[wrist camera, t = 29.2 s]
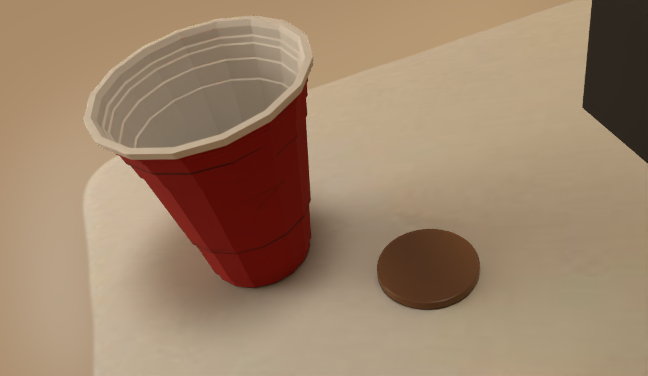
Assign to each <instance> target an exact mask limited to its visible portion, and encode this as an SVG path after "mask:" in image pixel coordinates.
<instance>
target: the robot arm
mask: <svg viewBox="0 0 648 376" xmlns="http://www.w3.org/2000/svg"><path fill="white" fill-rule="evenodd" d="M582 108H584V109H585V110H586V111H587V112H588V113H589V114H591V115H592V116H593V117H594V118H595V119H596V120H598V121H599V122H600V123H601V124H602V125H603V126H605V127H606V128H607V129H608V130H609V131H610V132H612V133H613V134H614V135H615V136H616V137H617V138H619V139H620V140H621V141H622V142H623V143H624V144H626V145H627V146H628V147H629V148H630V149H631V150H633V151H634V152H635V153H636V154H637V155H638V156H640V157H641V158H642V159H643V160H644V161H645V162H647V163H648V0H592V8H591V19H590V30H589V41H588V52H587V63H586V74H585V85H584V96H583V107H582Z"/></svg>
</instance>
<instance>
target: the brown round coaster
mask: <svg viewBox="0 0 648 376" xmlns="http://www.w3.org/2000/svg"><path fill="white" fill-rule="evenodd" d="M377 271H378V277H379V281H380V284H381V286H382V288H383V289H384V291H385V292H386V293H387V294H388V295H389V296H390V297H391V298H392V299H394V300H395V301H397V302H399V303H401V304H403V305H406V306H409V307H412V308H418V309H436V308H442V307H446V306H449V305H452V304H454V303H456V302H458V301H460V300H461V299H463V298H464V297H466V296H467V295H468V294H469V293H470V292H471V291H472V290H473V288H474V287H475V285H476V283H477V281H478V278H479V274H480V264H479V258H478V255H477V253H476V251H475V249H474V248H473V246H472V245H471V244H470V243H469V242H468V241H467V240H465V239H464V238H462V237H461V236H459V235H457V234H454V233H452V232H449V231H444V230H438V229H422V230H416V231H412V232H409V233H406V234H404V235H401V236H399V237H398V238H396V239H394V240H393V241H392V242H390V243H389V244H388V245H387V246H386V247H385V249H384V250H383V251H382V253H381V255H380V257H379V260H378V265H377Z"/></svg>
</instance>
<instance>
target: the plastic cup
mask: <svg viewBox="0 0 648 376" xmlns="http://www.w3.org/2000/svg"><path fill="white" fill-rule="evenodd" d="M312 66H313V54H312V51H311V48H310V45H309V41H308V37H307V34H305V33H304V32H302V31H301V30H299V29H298V28H296V27H295V26H293V25H292V24H290V23H289V22H287V21H285V20H279V19H273V18H267V17H261V16H254V15H253V16H243V17H233V18H221V19H215V20H211V21H208V22H204V23H201V24H197V25H193V26H190V27H186V28H183V29H180V30H177V31H175V32H172V33H171V34H168V35H166V36H164V37H162V38H160V39H158V40H156V41H154V42H151V43H149V44H147V45H145V46H143V47H141V48H140V49H138V50H137V51H136V52H134V53H133V54H132V55H130V56H129V57H127V58H126V59H125V60H123V61H122V62H121V63H119V64H118V65H116V66H115V67H114V68H112V69H111V70H110V71H109V72H108V73H107V74H106V76H105V77H104V78H103V79H102V81H101V82H100V83H99V84H98V85H97V87H96V88H95V89H94V90H93V92H92V93H91V94H90V95H89V99H88V103H87V107H86V111H85V115H84V119H83V122H84V124H85V125H86V127H87V129H88V131H89V133H90V134H91V136H92V138H93V140H94V141H95V143H96V144H98V145H99V146H100V147H101V148H103V149H106V150H108V151H111V152H113V153H115V154H116V155H119V156H120V157H121V158H122V159H123V160H124V162H125V163H126V164H128V165H130V166H131V167H132V168H133V169H134V170H135V172H136V173H137V174H138V175H139V177H140V178H143V179H144V180H145V181H146V182H147V184H148V185H149V186H150V188H151V189H152V190H153V192H154V193H155V194H156V196H157V197H158V198H159V200H160V201H161V202H162V204H163V205H164V206H165V208H166V209H167V210H168V212H169V213H170V214H171V216H172V217H173V218H174V220H175V221H176V222H177V224H178V225H179V226H180V228H181V229H182V230H183V232H184V233H185V234H186V236H187V237H188V238H189V240H190V241H191V242H192V244H194V245H196V246H197V247H198V249H199V250H200V252H201V253H202V254H203V256H204V257H205V259H206V260H207V262H208V263H209V264H210V266H211V267H212V269H213V270H214V272H215V273H216V274H218V275H220V277H221V278H222V279H223V280H225V281H227V282H229V283H231V284H233V285H235V286H239V287H253V288H256V287H260V286H264V285H268V284H272V283H276V282H277V281H279V280H281V279H283V278H284V277H286V276H288V275H290V274H292V273H293V272H294V271H295V270H296V269H297V268H298V266H299V265H300V264H301V263H302V262H303V261H304V260H305V258H306V255H307V252H308V249H309V247H310V239H311V227H310V212H309V203H310V201H311V199H310V182H309V165H308V148H307V131H306V116H307V105H306V97H307V95H308V94H307V82H308V75H309V73H310V71H311V68H312Z"/></svg>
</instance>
